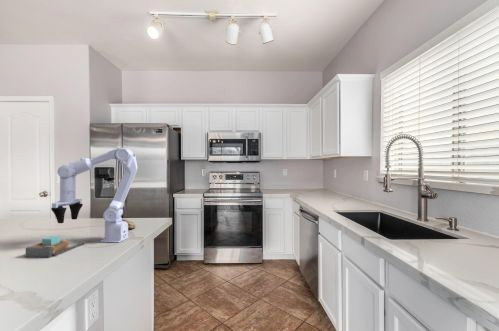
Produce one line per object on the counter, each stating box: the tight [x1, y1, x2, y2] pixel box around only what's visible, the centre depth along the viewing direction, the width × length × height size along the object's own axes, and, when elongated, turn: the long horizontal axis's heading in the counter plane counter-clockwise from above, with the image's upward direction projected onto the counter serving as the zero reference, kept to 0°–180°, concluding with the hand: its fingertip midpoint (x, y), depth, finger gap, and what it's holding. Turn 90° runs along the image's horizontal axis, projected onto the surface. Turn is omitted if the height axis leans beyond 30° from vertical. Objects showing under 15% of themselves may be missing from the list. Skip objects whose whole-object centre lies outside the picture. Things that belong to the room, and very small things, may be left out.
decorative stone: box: [122, 218, 136, 230], centre depth 139 cm, size 10×4×15 cm
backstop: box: [25, 241, 85, 259], centre depth 102 cm, size 12×16×4 cm
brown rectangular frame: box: [30, 239, 70, 256], centre depth 99 cm, size 9×8×4 cm
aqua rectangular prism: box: [41, 235, 61, 246], centre depth 99 cm, size 4×4×6 cm
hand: (67, 221), depth 112 cm, fingers open, 7 cm apart
